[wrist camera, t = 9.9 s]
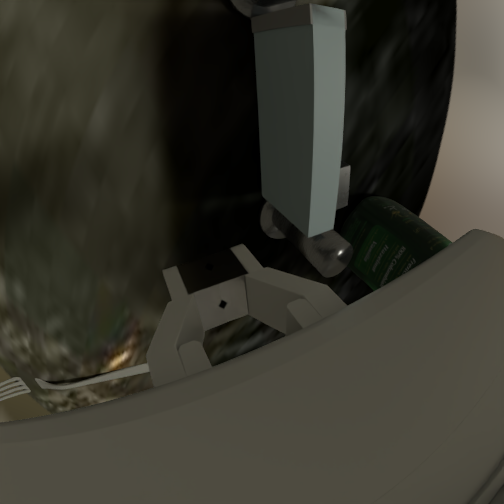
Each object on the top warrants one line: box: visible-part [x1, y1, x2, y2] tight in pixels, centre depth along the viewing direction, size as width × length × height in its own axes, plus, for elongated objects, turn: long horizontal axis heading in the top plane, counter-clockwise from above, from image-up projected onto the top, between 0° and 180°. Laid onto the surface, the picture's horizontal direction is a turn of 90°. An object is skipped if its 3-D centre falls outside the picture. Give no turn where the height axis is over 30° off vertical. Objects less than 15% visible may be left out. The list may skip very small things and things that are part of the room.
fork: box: [0, 363, 150, 401], centre depth 22 cm, size 3×24×2 cm, turn 81°
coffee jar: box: [340, 196, 452, 291], centre depth 22 cm, size 10×8×19 cm
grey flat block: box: [251, 4, 346, 238], centre depth 14 cm, size 12×2×6 cm, turn 3°
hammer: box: [259, 161, 353, 277], centre depth 19 cm, size 7×5×6 cm
